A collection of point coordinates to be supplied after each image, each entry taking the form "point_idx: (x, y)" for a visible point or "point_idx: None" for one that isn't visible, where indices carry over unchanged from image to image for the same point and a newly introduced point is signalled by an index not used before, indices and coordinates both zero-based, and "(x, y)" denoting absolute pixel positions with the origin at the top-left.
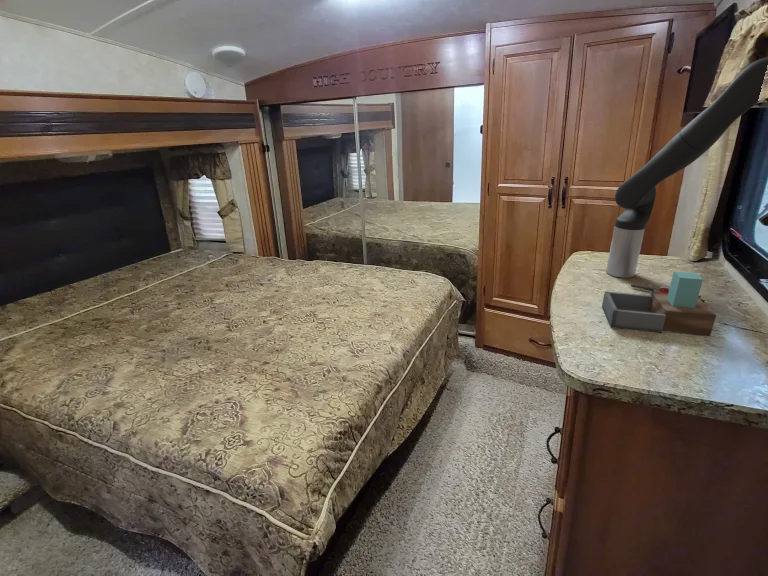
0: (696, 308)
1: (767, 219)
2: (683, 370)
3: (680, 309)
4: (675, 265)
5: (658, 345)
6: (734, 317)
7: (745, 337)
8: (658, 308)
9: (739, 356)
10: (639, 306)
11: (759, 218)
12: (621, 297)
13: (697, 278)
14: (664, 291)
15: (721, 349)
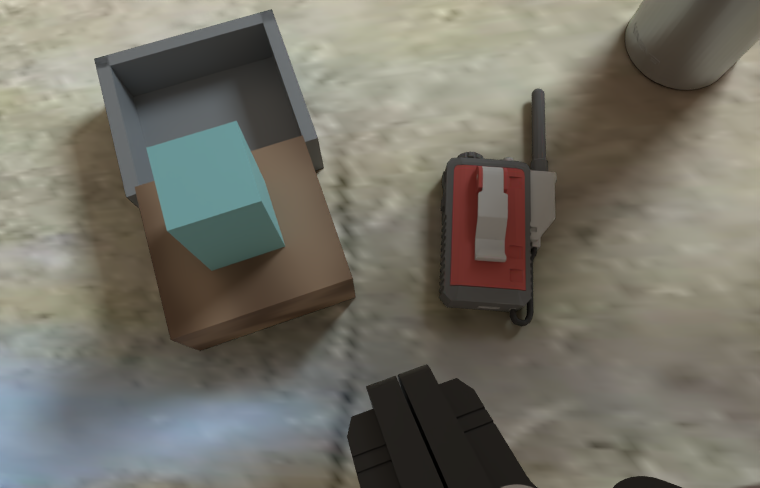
0: (211, 275)
1: (348, 434)
2: None
3: None
4: None
5: (53, 221)
6: None
7: (256, 456)
8: None
9: (80, 432)
10: (300, 135)
11: (421, 368)
12: (277, 66)
13: (172, 210)
14: (475, 184)
15: (110, 383)
